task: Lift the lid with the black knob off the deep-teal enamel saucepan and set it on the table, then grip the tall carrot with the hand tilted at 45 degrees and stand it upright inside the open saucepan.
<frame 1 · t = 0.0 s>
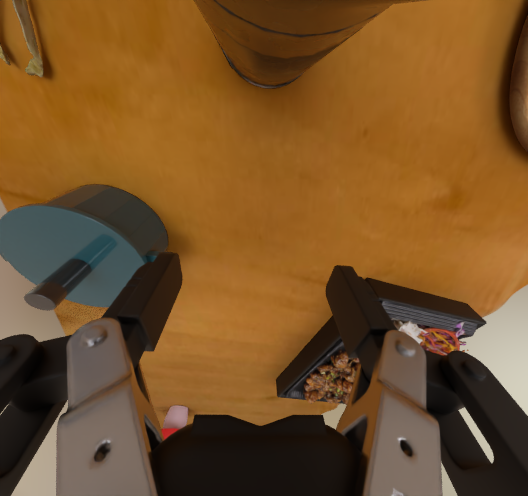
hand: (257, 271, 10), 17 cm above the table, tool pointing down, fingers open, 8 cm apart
mushroom: (178, 408, 73), on the table
saucepan: (118, 231, 28), on the table
pan lid: (83, 263, 23), point 7 cm above the table, touching saucepan
food platter: (352, 348, 50), on the table
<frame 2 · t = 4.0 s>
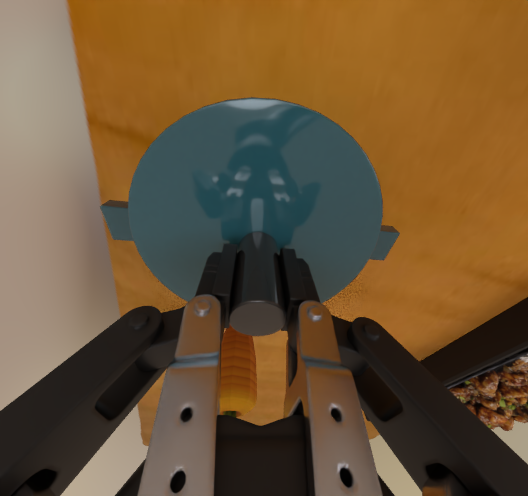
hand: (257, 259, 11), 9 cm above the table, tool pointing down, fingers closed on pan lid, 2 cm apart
saucepan: (258, 199, 18), on the table
pan lid: (257, 242, 12), point 7 cm above the table, touching gripper, saucepan
food platter: (474, 363, 40), on the table
carrot: (239, 311, 28), on the table
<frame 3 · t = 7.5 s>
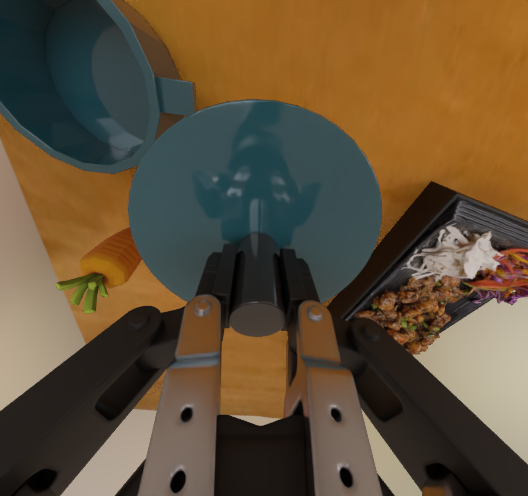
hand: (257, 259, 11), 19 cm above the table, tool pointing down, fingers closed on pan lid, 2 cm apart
saucepan: (117, 88, 21), on the table
pan lid: (257, 243, 12), point 17 cm above the table, touching gripper
food platter: (392, 297, 43), on the table
carrot: (146, 225, 31), on the table
when the fingers open (2 cm above the table, at t = 11.2 s): pan lid stays where it is, point 1 cm above the table.
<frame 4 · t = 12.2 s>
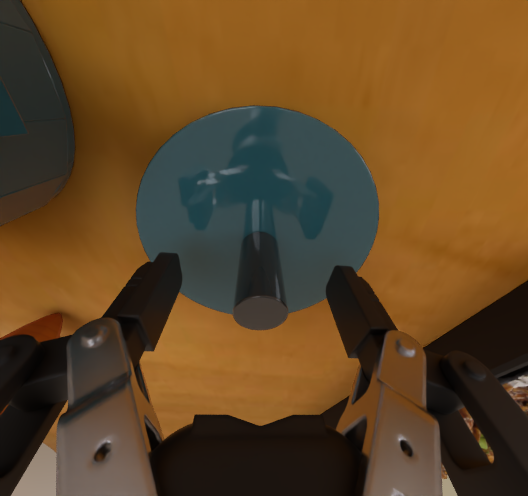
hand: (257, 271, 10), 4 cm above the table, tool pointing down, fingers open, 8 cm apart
pan lid: (259, 242, 13), point 1 cm above the table
food platter: (449, 381, 30), on the table
carrot: (61, 312, 18), on the table
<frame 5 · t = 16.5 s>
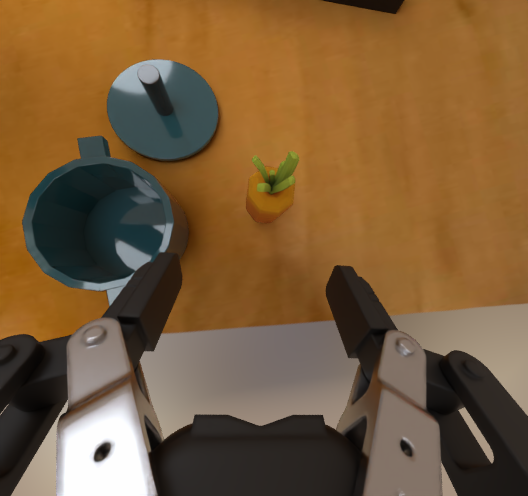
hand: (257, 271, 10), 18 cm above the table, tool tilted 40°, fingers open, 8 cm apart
saucepan: (136, 232, 27), on the table
pan lid: (166, 111, 28), point 1 cm above the table
carrot: (259, 216, 29), on the table
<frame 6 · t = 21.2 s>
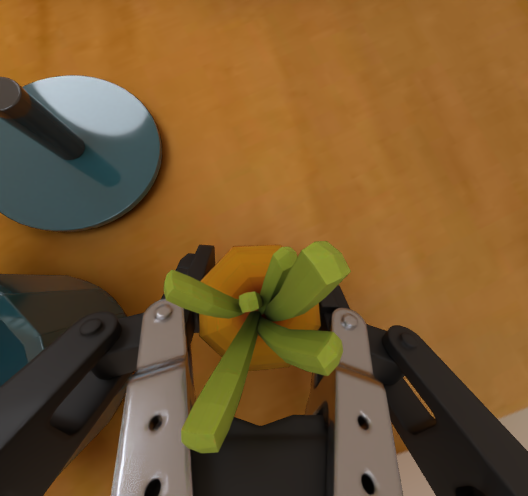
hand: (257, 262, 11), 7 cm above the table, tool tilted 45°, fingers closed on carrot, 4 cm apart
saucepan: (41, 364, 15), on the table
pan lid: (76, 152, 17), point 1 cm above the table
carrot: (250, 289, 18), on the table, touching gripper
when the fingers open (8 cm above the table, at t = 30.3 s): carrot stays where it is, resting on saucepan.
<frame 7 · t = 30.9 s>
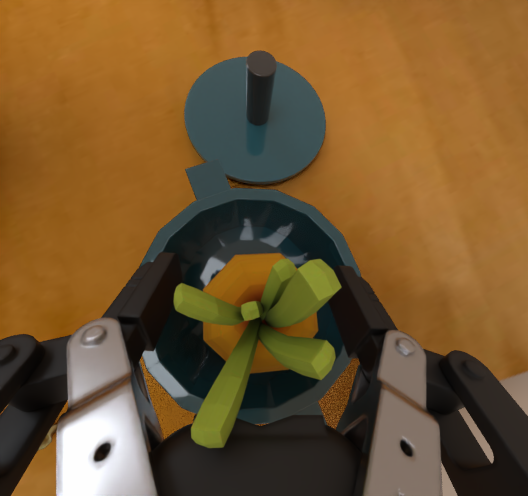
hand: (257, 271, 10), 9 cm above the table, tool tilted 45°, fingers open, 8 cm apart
saucepan: (250, 289, 19), on the table
pan lid: (257, 120, 21), point 1 cm above the table
carrot: (251, 292, 18), resting on saucepan
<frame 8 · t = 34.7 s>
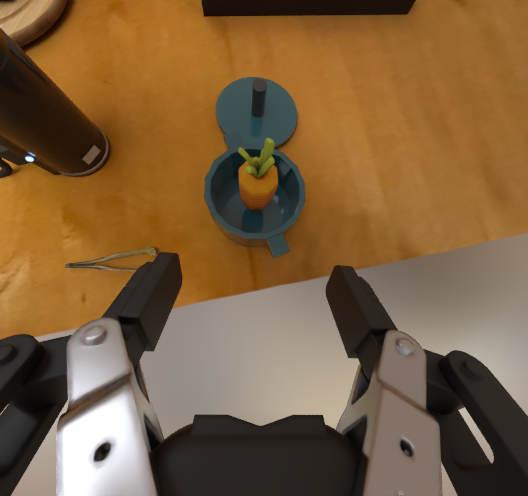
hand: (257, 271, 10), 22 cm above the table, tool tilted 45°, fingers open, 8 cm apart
saucepan: (253, 207, 33), on the table
pan lid: (257, 114, 36), point 1 cm above the table
tongs: (116, 266, 30), on the table
carrot: (254, 208, 33), resting on saucepan
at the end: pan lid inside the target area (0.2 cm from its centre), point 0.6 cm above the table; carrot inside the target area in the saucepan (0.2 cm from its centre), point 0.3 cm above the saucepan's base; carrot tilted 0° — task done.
